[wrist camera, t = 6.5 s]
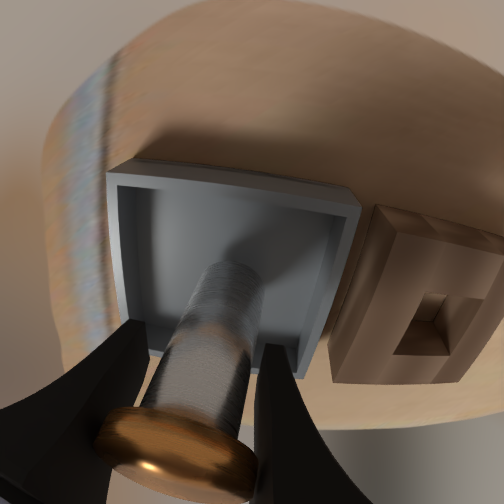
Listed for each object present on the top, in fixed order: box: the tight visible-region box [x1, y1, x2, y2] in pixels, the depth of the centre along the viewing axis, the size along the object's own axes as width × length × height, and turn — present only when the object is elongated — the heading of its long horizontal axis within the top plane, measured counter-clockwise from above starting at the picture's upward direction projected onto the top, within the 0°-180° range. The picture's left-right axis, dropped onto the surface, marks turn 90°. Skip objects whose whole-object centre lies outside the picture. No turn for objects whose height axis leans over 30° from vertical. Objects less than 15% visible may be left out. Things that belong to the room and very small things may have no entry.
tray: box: [106, 158, 362, 379], centre depth 15 cm, size 10×10×2 cm
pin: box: [93, 261, 265, 504], centre depth 10 cm, size 4×4×9 cm
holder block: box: [327, 204, 504, 385], centre depth 14 cm, size 9×9×3 cm
